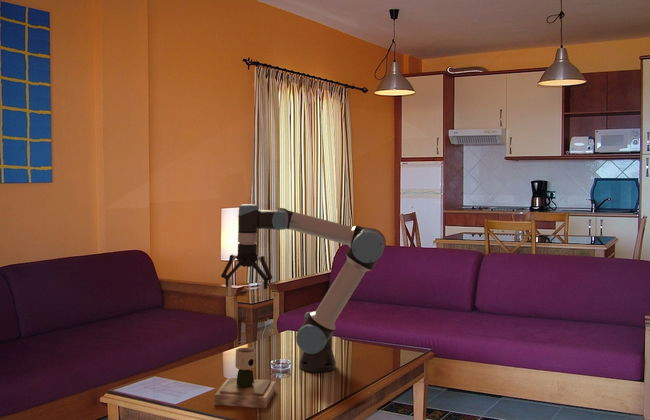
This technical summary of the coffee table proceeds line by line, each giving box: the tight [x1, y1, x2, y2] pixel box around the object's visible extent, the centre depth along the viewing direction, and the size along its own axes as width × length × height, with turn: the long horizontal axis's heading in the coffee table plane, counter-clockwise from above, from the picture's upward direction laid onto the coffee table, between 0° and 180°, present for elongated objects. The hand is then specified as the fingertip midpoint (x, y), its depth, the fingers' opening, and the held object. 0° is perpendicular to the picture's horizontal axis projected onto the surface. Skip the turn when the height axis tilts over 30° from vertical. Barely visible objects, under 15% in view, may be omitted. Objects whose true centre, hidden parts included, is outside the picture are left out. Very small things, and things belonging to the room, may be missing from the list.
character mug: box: [235, 347, 257, 387], centre depth 239 cm, size 11×7×13 cm, turn 162°
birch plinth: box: [214, 377, 276, 409], centre depth 240 cm, size 18×18×4 cm
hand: (246, 296), depth 268 cm, fingers open, 13 cm apart
